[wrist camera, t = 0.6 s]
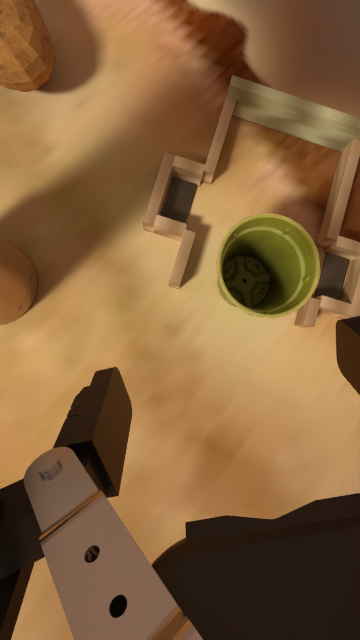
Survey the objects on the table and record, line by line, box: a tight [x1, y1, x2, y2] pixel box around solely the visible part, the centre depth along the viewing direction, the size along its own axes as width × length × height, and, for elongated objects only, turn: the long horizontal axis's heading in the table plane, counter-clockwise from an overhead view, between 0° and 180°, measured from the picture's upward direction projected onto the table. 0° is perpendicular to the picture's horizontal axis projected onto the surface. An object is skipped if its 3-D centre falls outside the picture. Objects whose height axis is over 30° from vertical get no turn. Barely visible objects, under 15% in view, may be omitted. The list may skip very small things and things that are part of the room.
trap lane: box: [143, 75, 360, 328], centre depth 35 cm, size 26×23×4 cm
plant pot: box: [217, 213, 320, 318], centre depth 32 cm, size 9×9×9 cm
